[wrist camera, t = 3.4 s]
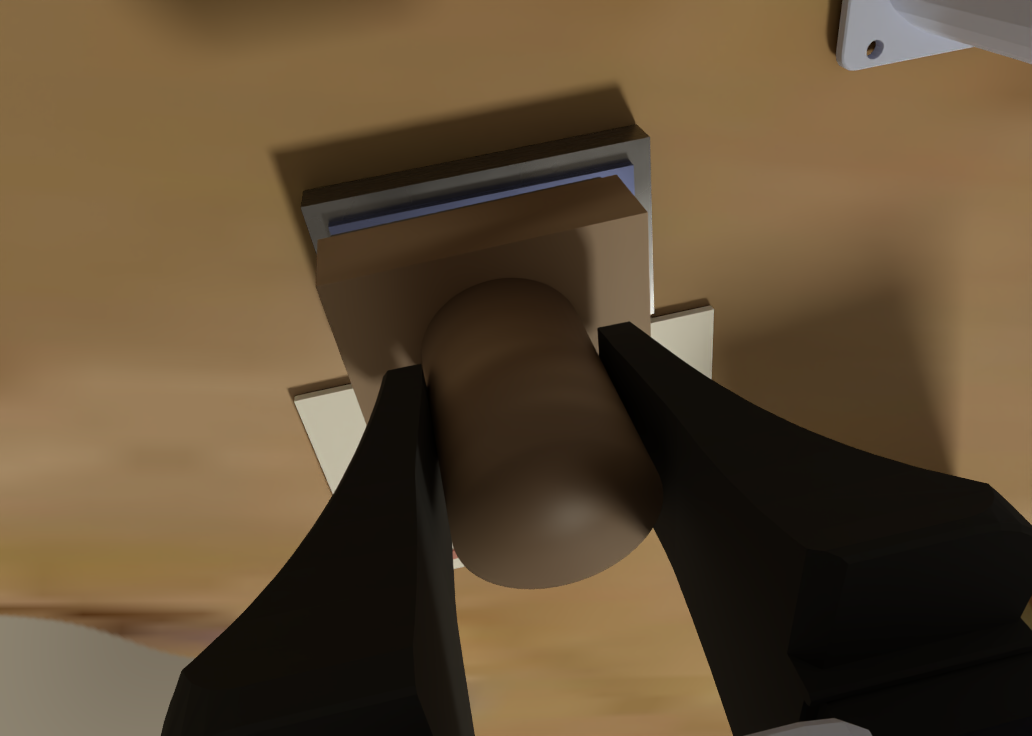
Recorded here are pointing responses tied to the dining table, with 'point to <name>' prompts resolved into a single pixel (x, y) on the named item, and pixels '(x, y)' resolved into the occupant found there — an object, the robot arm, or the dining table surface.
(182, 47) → the dining table surface
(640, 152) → the ink pad
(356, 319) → the stamp
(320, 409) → the sheet
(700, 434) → the robot arm
